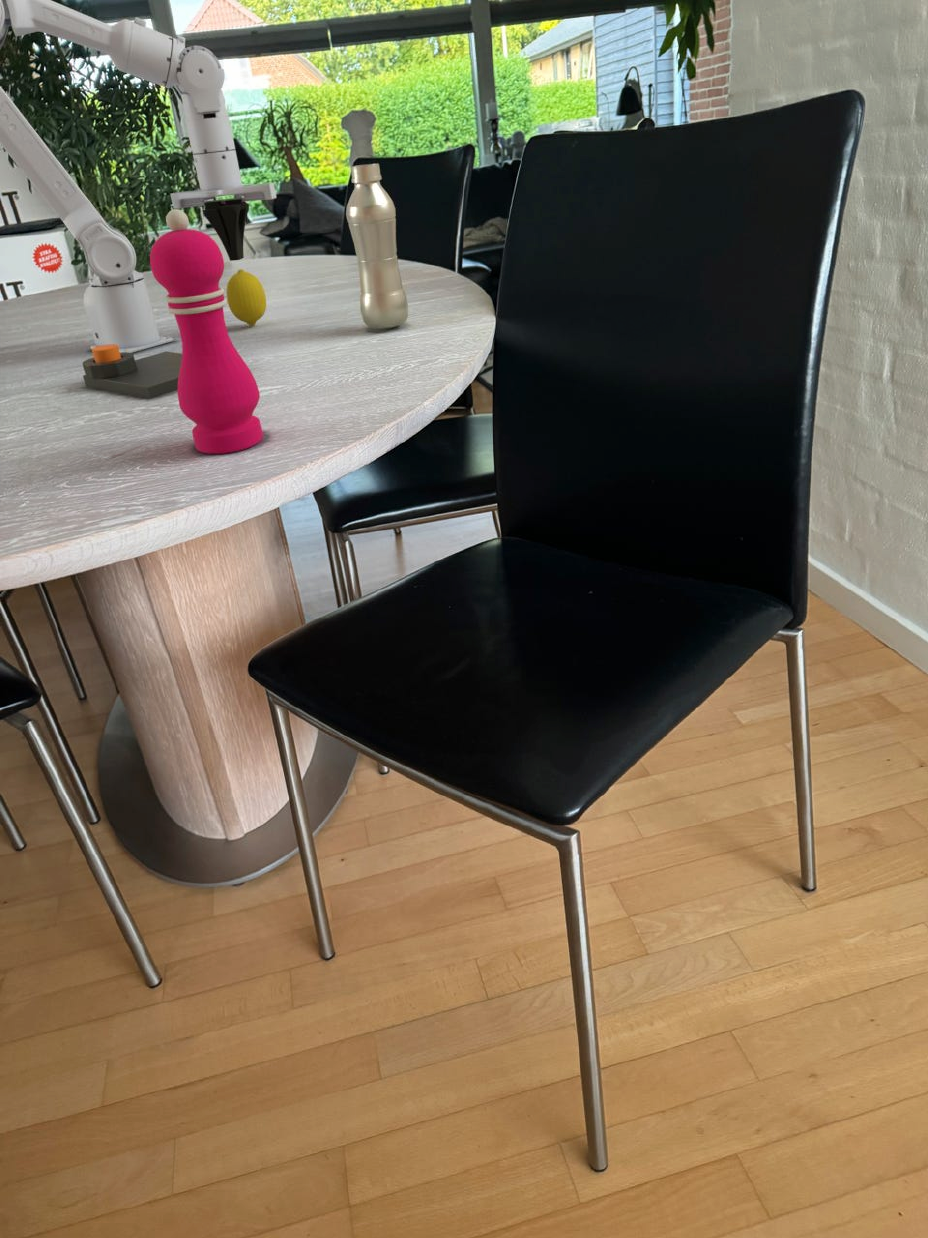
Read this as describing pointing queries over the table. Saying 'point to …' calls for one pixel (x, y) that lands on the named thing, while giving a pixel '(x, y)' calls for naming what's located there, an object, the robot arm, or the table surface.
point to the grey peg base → (135, 374)
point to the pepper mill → (205, 341)
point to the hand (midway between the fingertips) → (236, 259)
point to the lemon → (246, 297)
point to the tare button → (106, 353)
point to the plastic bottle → (376, 250)
